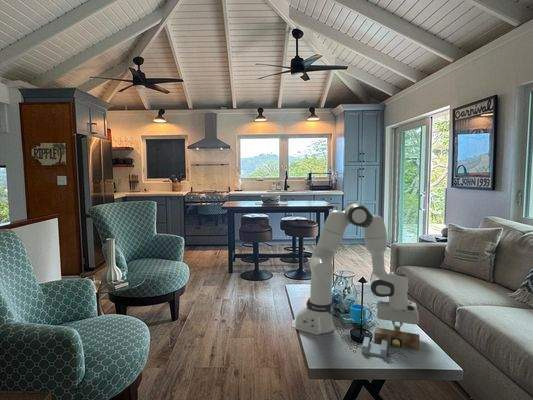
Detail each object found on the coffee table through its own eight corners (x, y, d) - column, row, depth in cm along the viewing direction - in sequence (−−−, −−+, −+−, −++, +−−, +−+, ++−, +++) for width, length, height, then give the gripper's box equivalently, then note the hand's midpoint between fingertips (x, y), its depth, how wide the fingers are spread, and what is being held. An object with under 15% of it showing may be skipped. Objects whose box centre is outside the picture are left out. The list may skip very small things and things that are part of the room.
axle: (392, 347, 163) (391, 340, 162) (393, 334, 176) (393, 327, 175) (400, 348, 161) (400, 341, 161) (400, 335, 174) (400, 328, 174)
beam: (374, 342, 167) (374, 332, 167) (375, 336, 173) (375, 327, 172) (419, 350, 160) (419, 340, 159) (418, 344, 165) (419, 334, 165)
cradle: (362, 353, 157) (362, 345, 157) (364, 344, 166) (364, 336, 165) (386, 357, 153) (386, 350, 153) (387, 348, 162) (387, 340, 161)
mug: (353, 324, 186) (353, 310, 186) (348, 318, 194) (348, 304, 194) (374, 323, 187) (374, 309, 187) (368, 317, 196) (368, 303, 195)
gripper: (376, 302, 176) (375, 328, 178) (419, 308, 169) (418, 335, 170) (377, 298, 182) (376, 323, 183) (419, 303, 175) (418, 330, 176)
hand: (397, 329), depth 177 cm, fingers closed
